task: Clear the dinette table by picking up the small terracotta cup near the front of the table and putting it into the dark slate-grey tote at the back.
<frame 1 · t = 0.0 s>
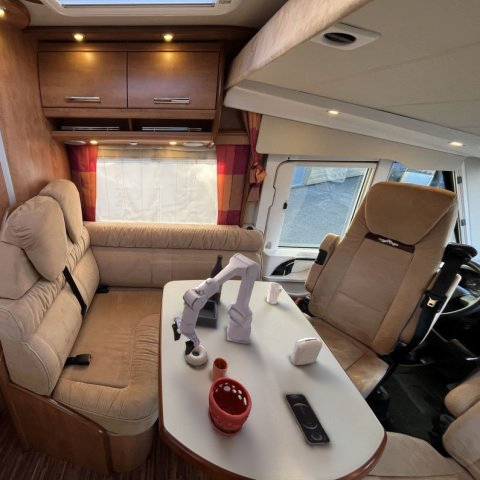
hand: (181, 346, 93), 11 cm above the table, tool pointing down, fingers open, 7 cm apart
wine bottle: (213, 301, 134), on the table
flower pot: (225, 417, 80), on the table
cup: (271, 301, 135), on the table
terracotta cup: (217, 377, 93), on the table
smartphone: (305, 418, 80), on the table
donut: (195, 356, 101), on the table
photo printer: (302, 360, 100), on the table
tote: (202, 315, 123), on the table
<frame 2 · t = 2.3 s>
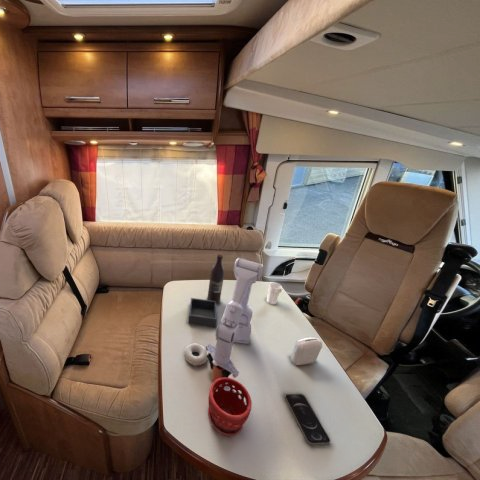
hand: (218, 374, 92), 2 cm above the table, tool pointing down, fingers closed on terracotta cup, 5 cm apart
terracotta cup: (217, 377, 93), on the table, touching gripper
everything else where it was.
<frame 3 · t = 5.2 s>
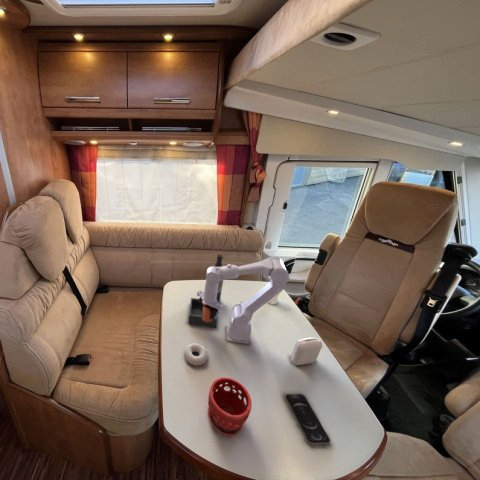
hand: (207, 314, 111), 9 cm above the table, tool pointing down, fingers closed on terracotta cup, 5 cm apart
terracotta cup: (207, 318, 111), point 7 cm above the table, touching gripper
everything else where it was.
when the fingers open (2 cm above the table, at t = 8.2 s): terracotta cup stays where it is, resting on tote.
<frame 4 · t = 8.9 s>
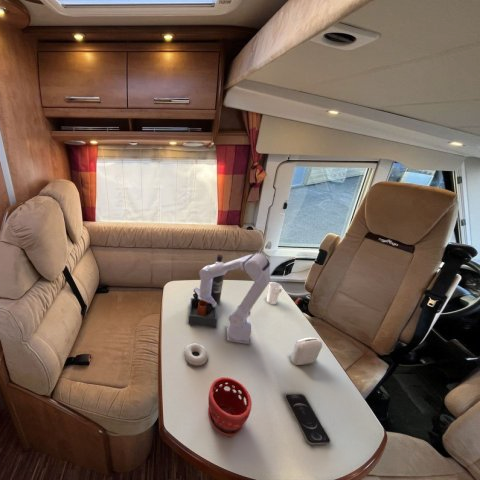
hand: (203, 309, 121), 4 cm above the table, tool pointing down, fingers open, 7 cm apart
terracotta cup: (202, 315, 123), resting on tote
everything else where it was.
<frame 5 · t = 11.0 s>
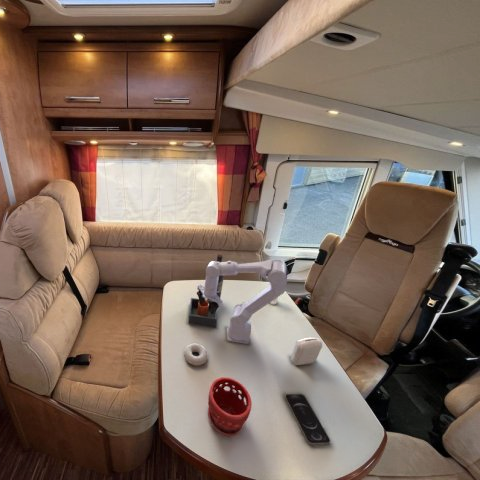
hand: (207, 308, 113), 10 cm above the table, tool pointing down, fingers open, 7 cm apart
nothing on the table moved.
at the end: terracotta cup inside the target area in the tote (0.1 cm from its centre), point 0.4 cm above the tote's base; terracotta cup tilted 0°; the gripper is holding nothing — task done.
